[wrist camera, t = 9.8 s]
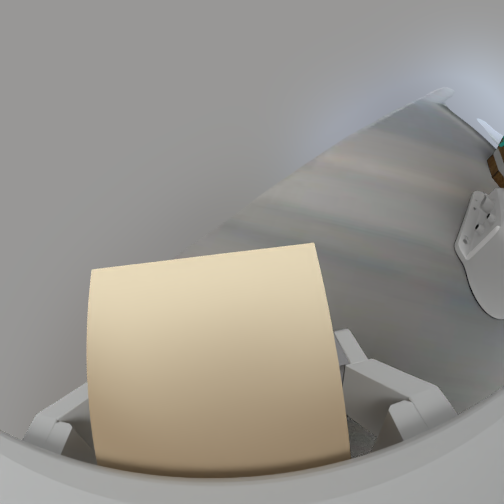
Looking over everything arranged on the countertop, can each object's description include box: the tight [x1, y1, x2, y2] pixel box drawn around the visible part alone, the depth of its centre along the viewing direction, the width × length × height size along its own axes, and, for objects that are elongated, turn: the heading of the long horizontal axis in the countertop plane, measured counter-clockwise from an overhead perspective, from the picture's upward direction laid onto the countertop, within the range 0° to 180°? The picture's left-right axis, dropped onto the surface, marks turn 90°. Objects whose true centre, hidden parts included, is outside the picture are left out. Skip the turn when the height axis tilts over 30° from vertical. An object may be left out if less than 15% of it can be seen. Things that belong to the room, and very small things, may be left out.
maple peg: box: [87, 243, 351, 478], centre depth 9 cm, size 4×4×12 cm
